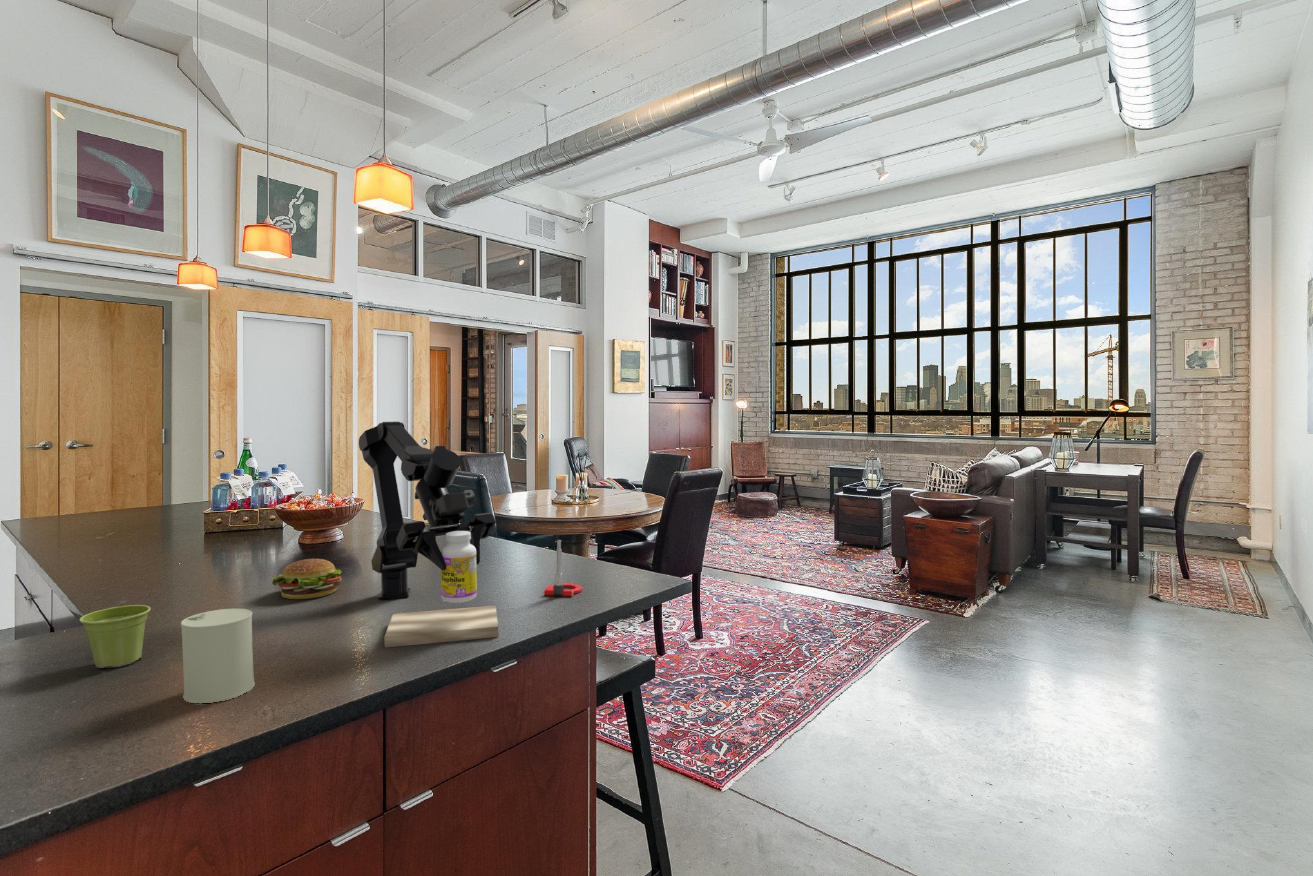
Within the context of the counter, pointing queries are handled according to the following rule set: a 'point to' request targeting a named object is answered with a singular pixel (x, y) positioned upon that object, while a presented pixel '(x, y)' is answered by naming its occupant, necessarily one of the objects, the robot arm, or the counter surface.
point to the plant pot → (116, 633)
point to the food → (308, 579)
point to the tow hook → (558, 586)
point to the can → (217, 655)
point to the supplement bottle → (459, 568)
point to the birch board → (441, 626)
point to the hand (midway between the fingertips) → (461, 566)
